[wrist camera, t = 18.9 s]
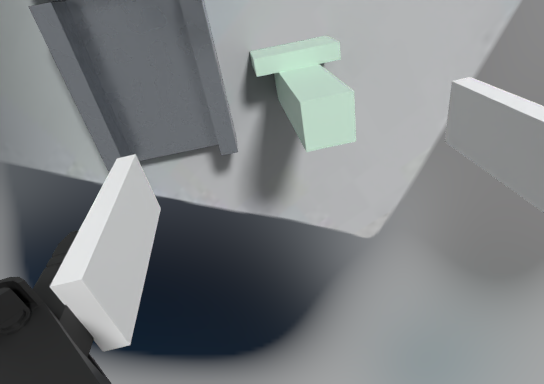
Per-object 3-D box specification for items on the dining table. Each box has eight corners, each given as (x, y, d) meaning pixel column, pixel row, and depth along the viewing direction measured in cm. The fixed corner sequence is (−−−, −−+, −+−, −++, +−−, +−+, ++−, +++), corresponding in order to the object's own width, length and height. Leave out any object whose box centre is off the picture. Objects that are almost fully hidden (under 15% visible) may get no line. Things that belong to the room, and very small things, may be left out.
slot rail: (51, 3, 34) (28, 6, 30) (197, -25, 35) (195, -26, 30) (122, 159, 44) (112, 178, 40) (236, 136, 44) (238, 152, 40)
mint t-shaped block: (249, 51, 39) (266, 85, 26) (326, 35, 39) (383, 61, 26) (259, 103, 42) (279, 157, 29) (330, 88, 43) (382, 135, 29)
